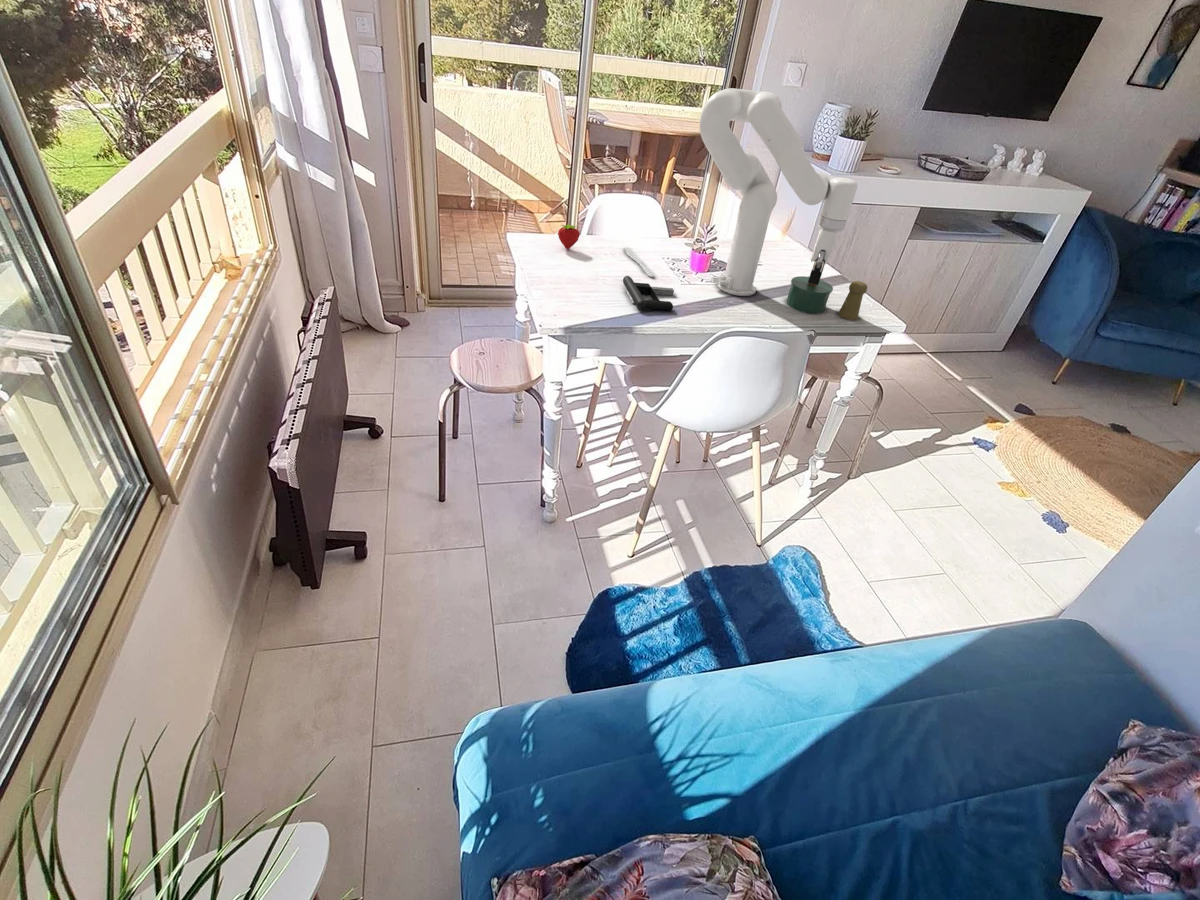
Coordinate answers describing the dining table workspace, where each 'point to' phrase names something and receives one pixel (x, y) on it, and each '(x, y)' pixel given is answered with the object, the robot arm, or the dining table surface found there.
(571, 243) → the strawberry
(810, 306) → the pot
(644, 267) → the butter knife
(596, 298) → the dining table surface
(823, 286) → the pot lid
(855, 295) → the olive tapered upright piece
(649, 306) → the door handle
